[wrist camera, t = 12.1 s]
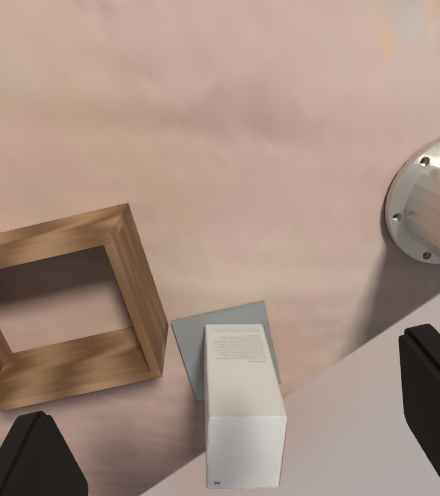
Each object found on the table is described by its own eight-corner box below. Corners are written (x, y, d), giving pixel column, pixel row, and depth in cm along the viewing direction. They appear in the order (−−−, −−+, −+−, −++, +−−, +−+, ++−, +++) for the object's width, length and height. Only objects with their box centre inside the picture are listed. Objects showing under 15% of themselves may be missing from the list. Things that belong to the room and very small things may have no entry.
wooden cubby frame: (128, 203, 37) (110, 233, 30) (168, 325, 43) (162, 376, 35) (-54, 245, 38) (-115, 285, 31) (8, 360, 43) (-31, 418, 36)
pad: (263, 300, 42) (264, 303, 41) (280, 380, 46) (281, 383, 46) (171, 320, 42) (171, 323, 42) (196, 398, 47) (196, 401, 46)
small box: (258, 382, 45) (280, 489, 33) (203, 382, 45) (204, 491, 33) (263, 322, 42) (289, 416, 30) (204, 322, 42) (206, 418, 30)
